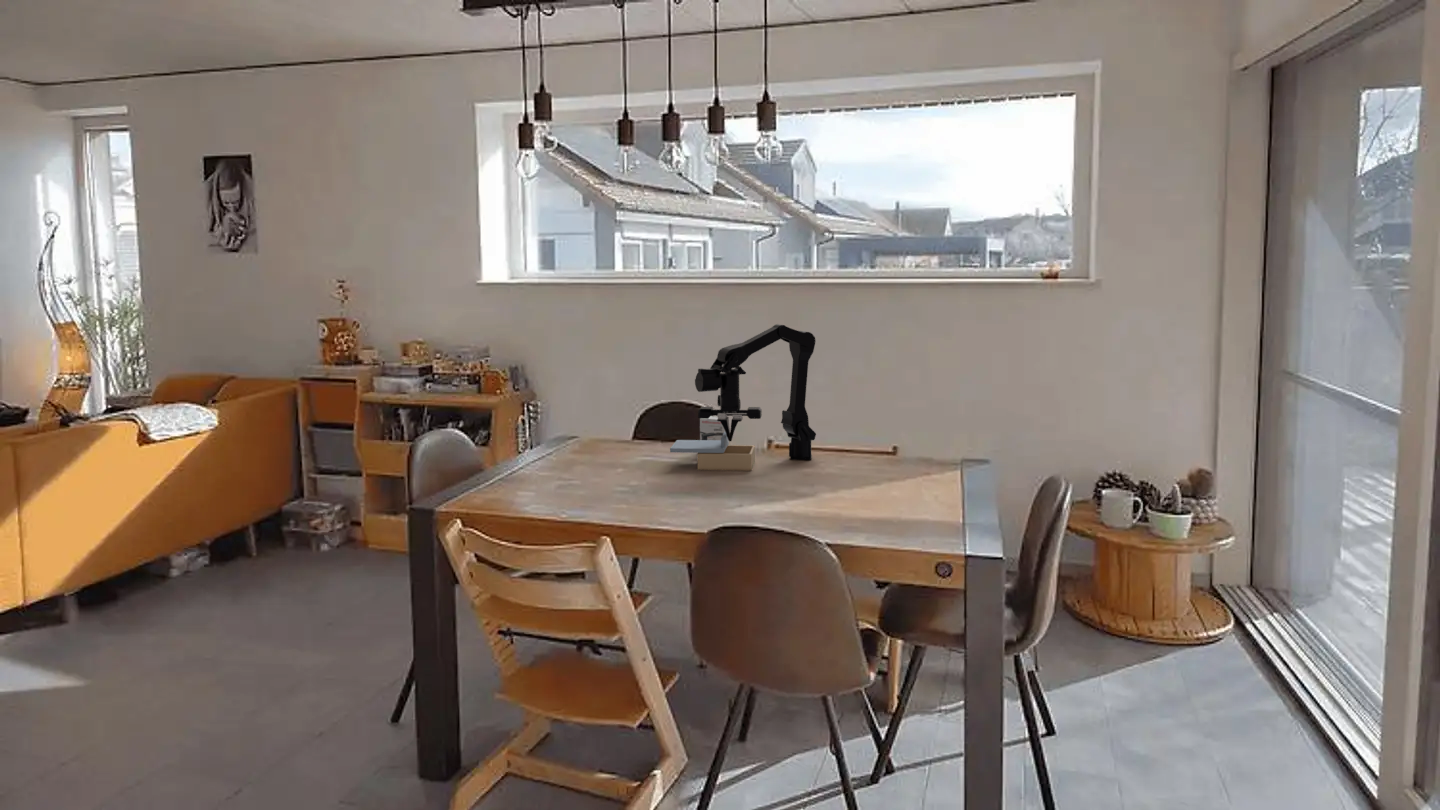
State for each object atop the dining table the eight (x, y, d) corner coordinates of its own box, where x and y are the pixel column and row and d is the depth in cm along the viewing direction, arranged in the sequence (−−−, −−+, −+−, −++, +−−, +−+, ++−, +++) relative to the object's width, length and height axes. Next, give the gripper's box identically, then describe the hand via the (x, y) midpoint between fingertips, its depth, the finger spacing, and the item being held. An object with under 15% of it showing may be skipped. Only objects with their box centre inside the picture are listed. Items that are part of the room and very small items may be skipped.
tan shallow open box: (755, 461, 322) (754, 445, 322) (751, 470, 309) (751, 454, 308) (703, 460, 324) (703, 444, 323) (697, 470, 310) (697, 453, 310)
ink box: (699, 454, 335) (699, 418, 333) (704, 451, 339) (703, 415, 338) (724, 455, 332) (724, 419, 330) (729, 452, 337) (729, 416, 335)
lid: (728, 444, 323) (728, 430, 322) (723, 452, 309) (723, 438, 308) (677, 443, 324) (676, 430, 324) (670, 452, 311) (669, 438, 310)
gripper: (762, 386, 320) (762, 436, 322) (702, 386, 322) (702, 436, 324) (760, 391, 309) (760, 443, 311) (697, 390, 311) (698, 442, 313)
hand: (730, 441), depth 315 cm, fingers closed
